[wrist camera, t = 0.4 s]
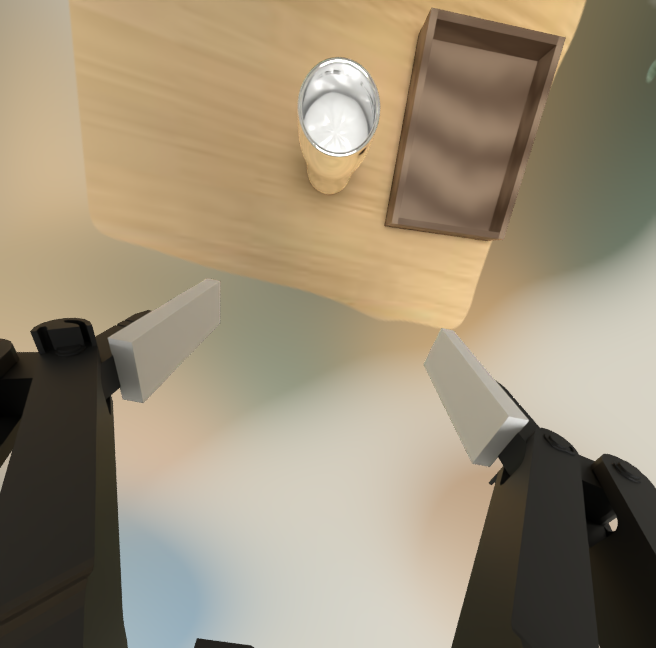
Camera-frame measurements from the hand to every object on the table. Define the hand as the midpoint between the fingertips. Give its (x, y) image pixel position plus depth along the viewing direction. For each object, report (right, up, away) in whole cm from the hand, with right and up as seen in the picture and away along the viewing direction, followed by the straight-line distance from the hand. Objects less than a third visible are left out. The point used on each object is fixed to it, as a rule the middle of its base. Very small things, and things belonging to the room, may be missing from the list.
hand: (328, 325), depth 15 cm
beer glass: (0, +21, +19) cm, 29 cm away
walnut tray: (+18, +24, +19) cm, 35 cm away
